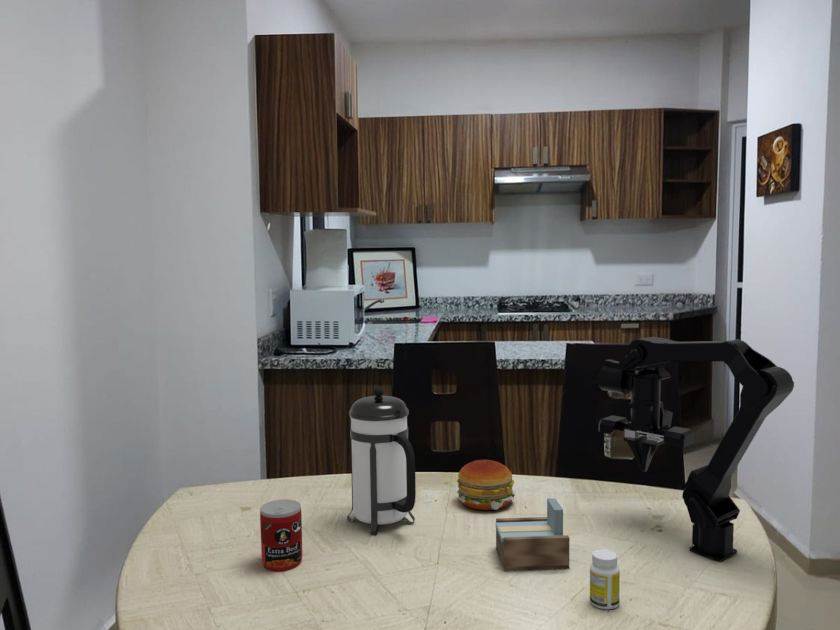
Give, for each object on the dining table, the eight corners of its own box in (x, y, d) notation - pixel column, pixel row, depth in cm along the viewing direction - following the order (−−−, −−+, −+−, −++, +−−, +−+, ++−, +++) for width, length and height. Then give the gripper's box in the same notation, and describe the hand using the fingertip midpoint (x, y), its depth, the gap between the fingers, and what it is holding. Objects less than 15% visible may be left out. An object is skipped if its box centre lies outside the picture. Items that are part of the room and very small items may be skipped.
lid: (554, 524, 134) (554, 497, 134) (563, 540, 127) (564, 511, 127) (495, 526, 134) (495, 498, 133) (501, 542, 127) (501, 513, 126)
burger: (449, 496, 165) (449, 456, 164) (502, 490, 168) (502, 451, 167) (467, 517, 152) (467, 473, 151) (524, 510, 155) (524, 467, 154)
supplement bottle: (614, 595, 116) (614, 547, 116) (623, 609, 112) (624, 560, 111) (586, 596, 116) (586, 548, 116) (594, 610, 112) (594, 561, 111)
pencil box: (556, 545, 136) (556, 516, 136) (569, 569, 126) (569, 537, 126) (496, 547, 136) (495, 518, 135) (504, 571, 126) (504, 539, 125)
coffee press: (334, 534, 143) (331, 393, 140) (359, 506, 159) (356, 379, 156) (415, 542, 139) (413, 396, 136) (432, 512, 154) (431, 381, 152)
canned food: (262, 574, 126) (260, 516, 125) (260, 556, 133) (258, 501, 132) (304, 568, 128) (303, 511, 127) (300, 551, 135) (299, 497, 134)
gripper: (706, 398, 141) (704, 471, 143) (623, 386, 155) (622, 453, 156) (683, 407, 134) (681, 485, 135) (597, 393, 147) (596, 465, 148)
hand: (644, 471), depth 144 cm, fingers closed
